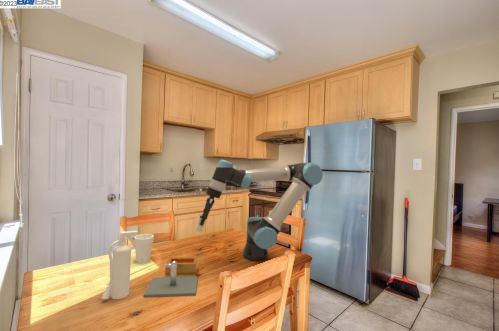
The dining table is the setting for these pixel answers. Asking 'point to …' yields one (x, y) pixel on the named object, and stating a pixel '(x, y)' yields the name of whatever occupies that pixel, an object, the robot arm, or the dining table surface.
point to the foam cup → (143, 247)
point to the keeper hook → (172, 272)
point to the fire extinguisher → (120, 267)
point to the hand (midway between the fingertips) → (199, 227)
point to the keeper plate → (171, 287)
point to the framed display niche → (183, 266)
